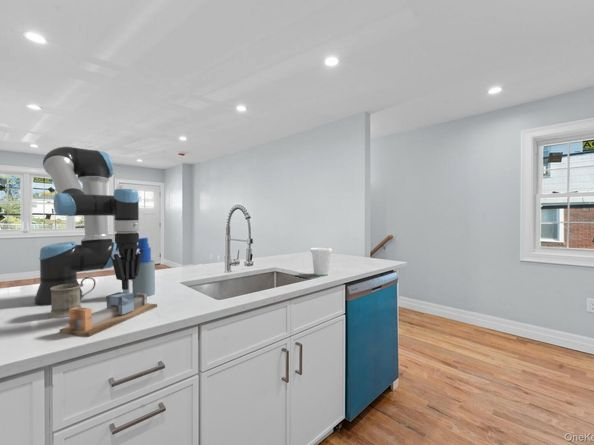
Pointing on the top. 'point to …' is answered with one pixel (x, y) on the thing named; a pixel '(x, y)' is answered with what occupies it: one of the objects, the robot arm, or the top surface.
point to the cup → (321, 260)
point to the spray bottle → (145, 271)
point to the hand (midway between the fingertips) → (127, 297)
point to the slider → (121, 302)
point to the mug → (66, 298)
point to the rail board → (109, 322)
